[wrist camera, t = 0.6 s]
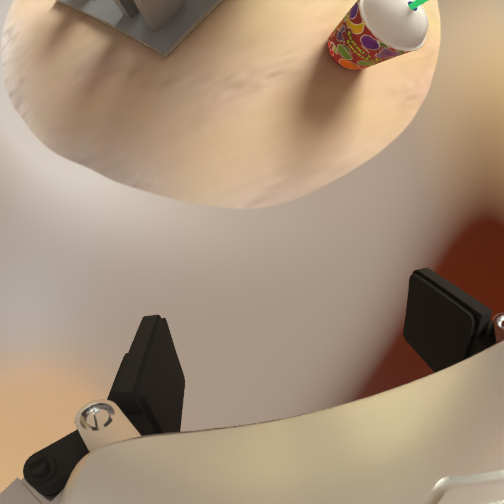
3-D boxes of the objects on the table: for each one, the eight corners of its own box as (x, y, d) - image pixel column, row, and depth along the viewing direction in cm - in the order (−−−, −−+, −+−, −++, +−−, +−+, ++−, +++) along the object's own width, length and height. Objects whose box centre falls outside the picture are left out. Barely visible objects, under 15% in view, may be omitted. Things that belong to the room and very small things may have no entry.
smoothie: (314, 65, 34) (386, 5, 15) (324, 19, 32) (389, -51, 13) (368, 85, 36) (462, 51, 17) (375, 40, 33) (459, -8, 14)
